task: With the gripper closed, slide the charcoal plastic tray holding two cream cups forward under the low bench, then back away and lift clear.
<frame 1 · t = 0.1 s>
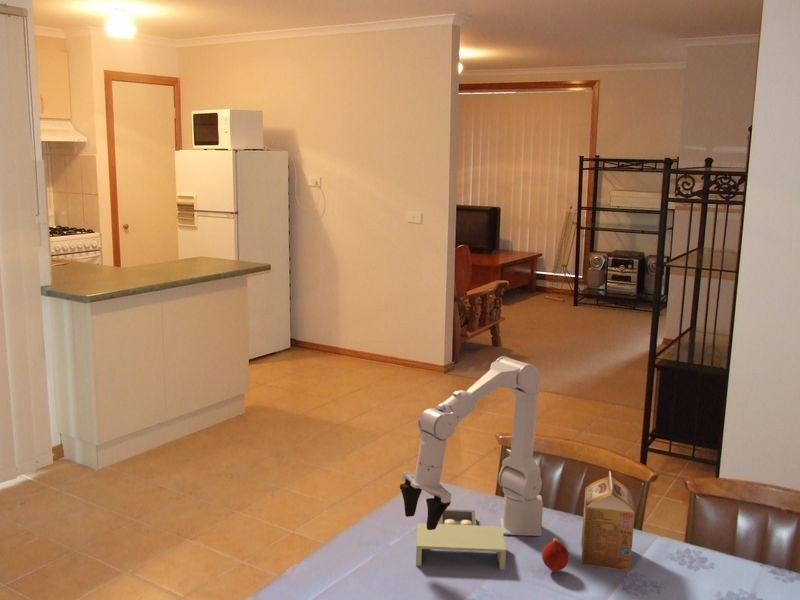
hand: (420, 522, 170), 11 cm above the table, tool pointing down, fingers open, 7 cm apart
milk carton: (604, 556, 179), on the table
bench: (459, 555, 177), on the table
onion: (554, 572, 171), on the table
tray: (457, 529, 191), on the table
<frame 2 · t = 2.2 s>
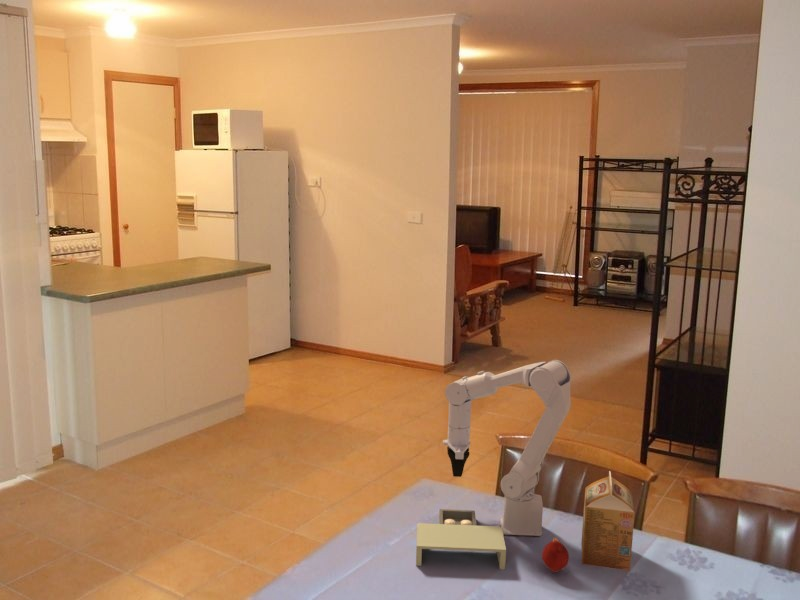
hand: (457, 475, 199), 9 cm above the table, tool pointing down, fingers closed
nothing on the table moved.
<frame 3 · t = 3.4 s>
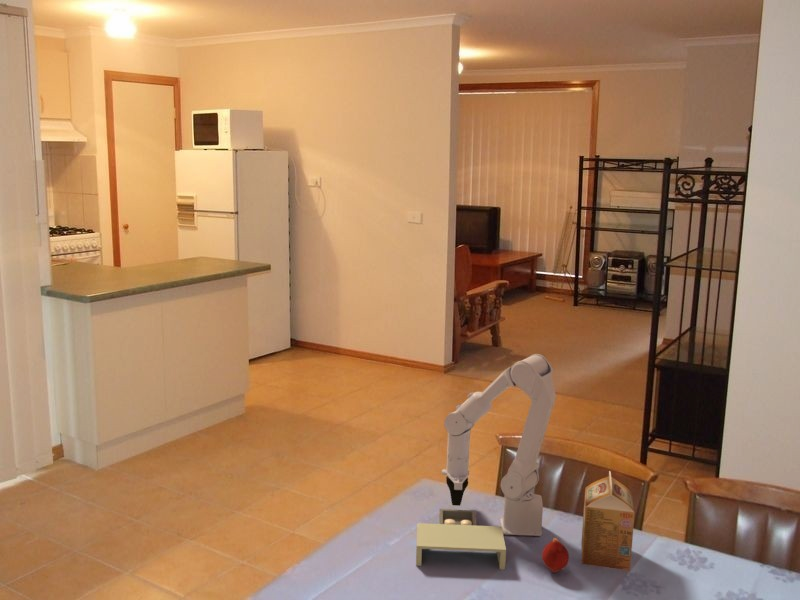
hand: (456, 504, 201), 1 cm above the table, tool pointing down, fingers closed
nothing on the table moved.
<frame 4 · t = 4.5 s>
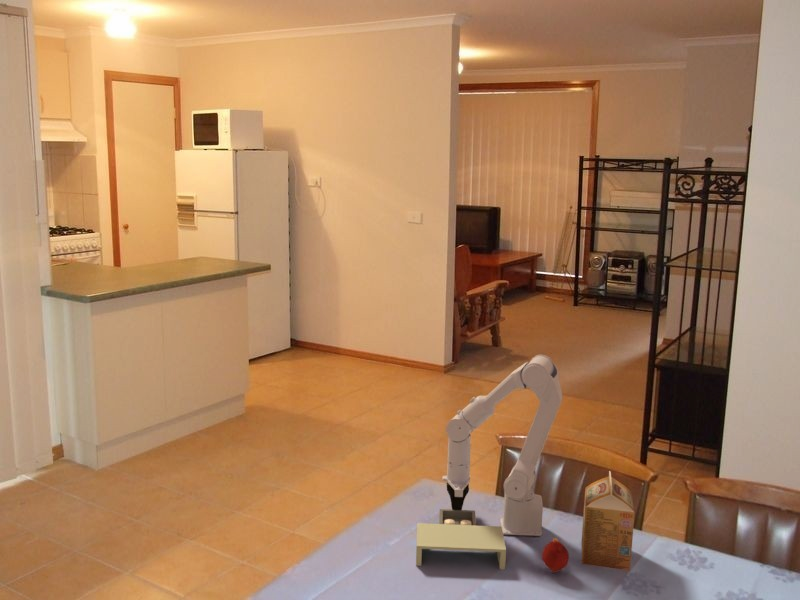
hand: (456, 511, 196), 1 cm above the table, tool pointing down, fingers closed
tray: (457, 529, 190), on the table, touching gripper
everything else where it was.
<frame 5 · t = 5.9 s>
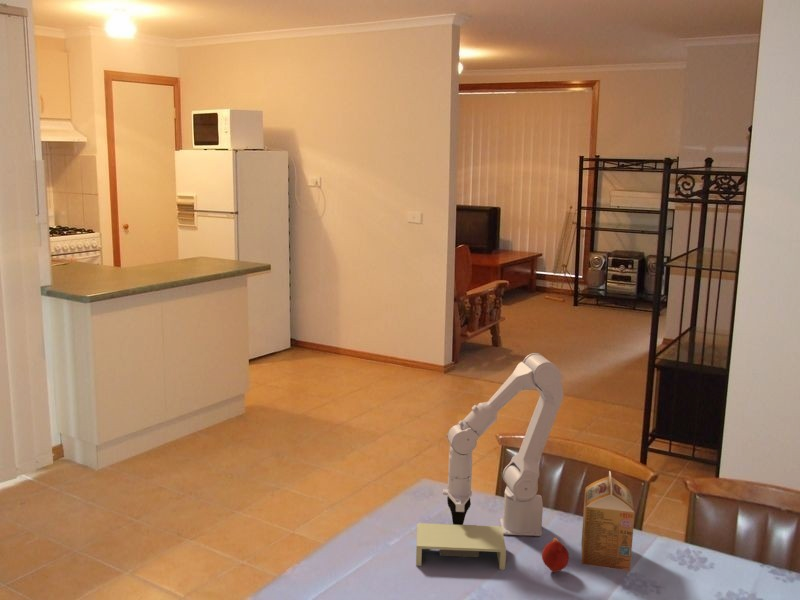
hand: (457, 526, 188), 1 cm above the table, tool pointing down, fingers closed
tray: (458, 545, 182), on the table, touching gripper
everything else where it was.
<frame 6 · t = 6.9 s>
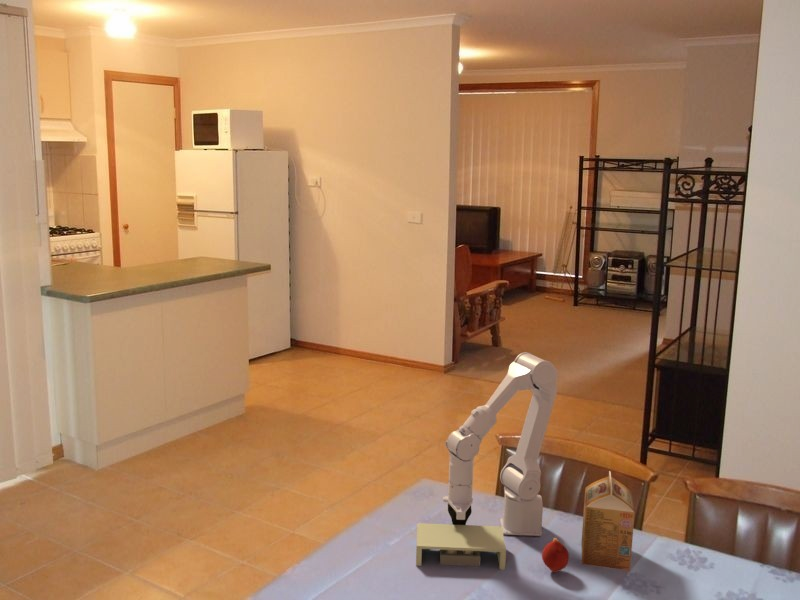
hand: (458, 534, 185), 1 cm above the table, tool pointing down, fingers closed
tray: (459, 554, 179), on the table
everything else where it was.
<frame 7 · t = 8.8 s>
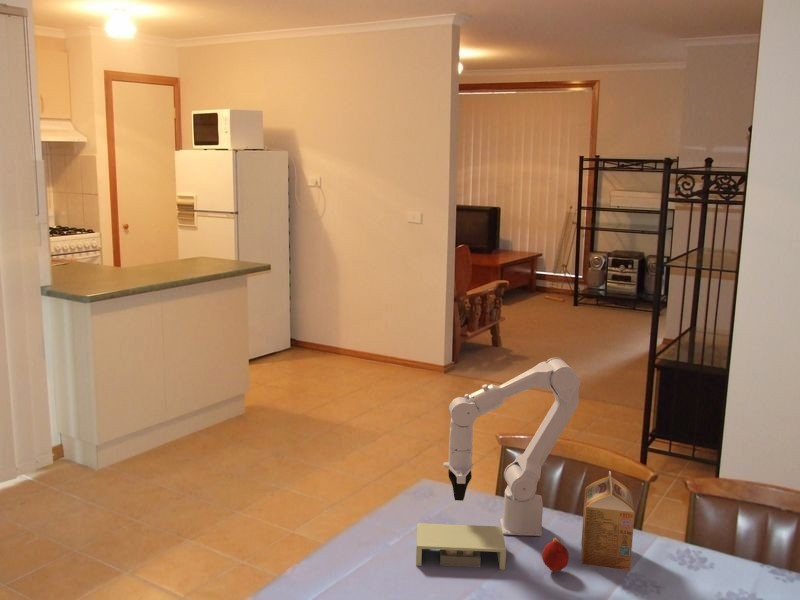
hand: (459, 499, 189), 8 cm above the table, tool pointing down, fingers closed
nothing on the table moved.
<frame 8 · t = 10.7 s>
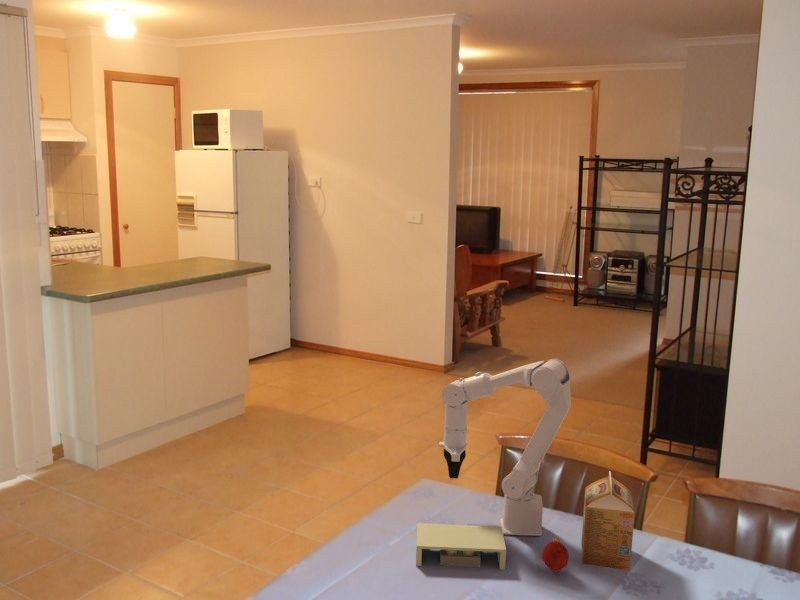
hand: (453, 477, 198), 9 cm above the table, tool pointing down, fingers closed
nothing on the table moved.
at the end: tray 0.9 cm from the target spot, on the table; tray tilted 0°; tray moved 12.8 cm from its start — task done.
